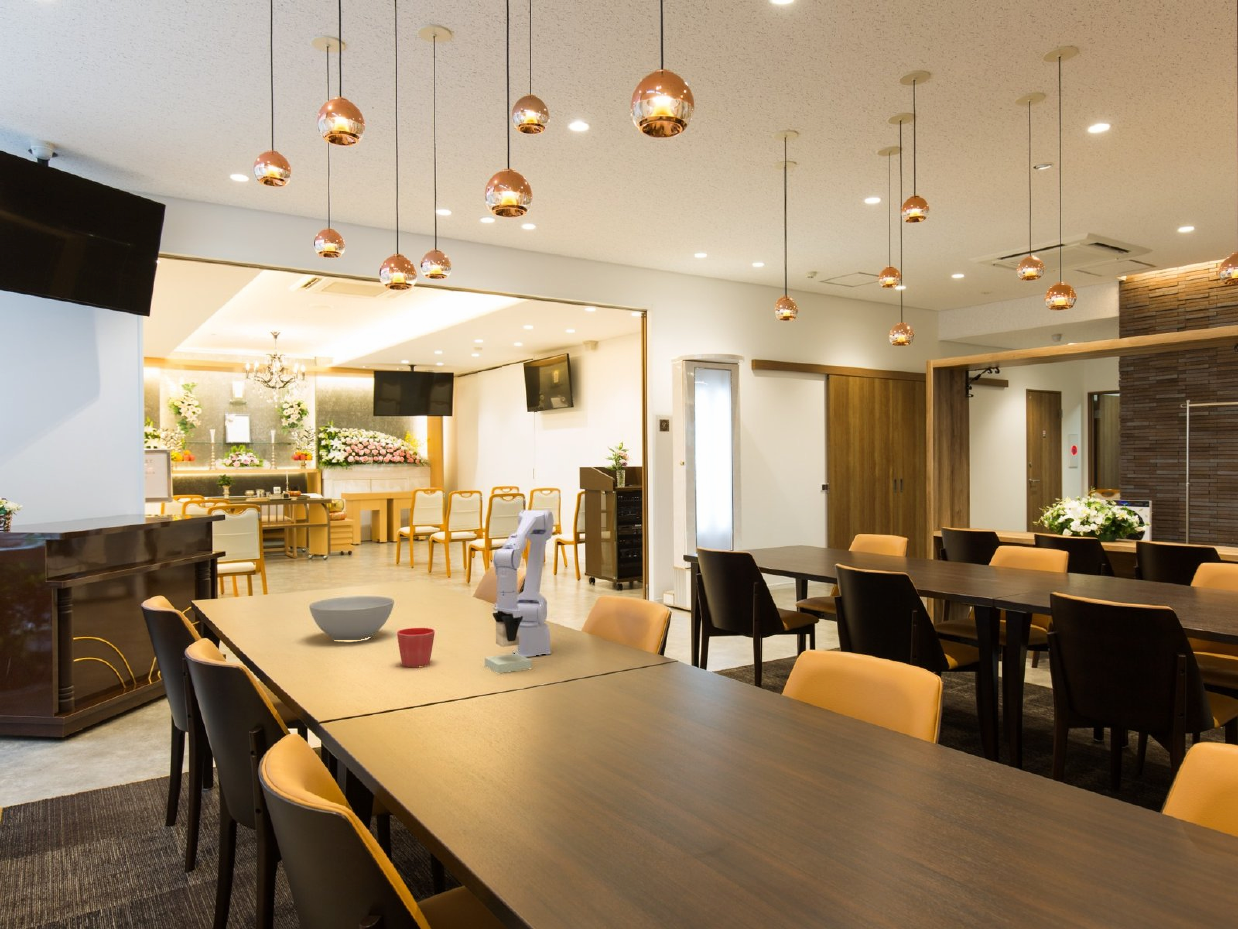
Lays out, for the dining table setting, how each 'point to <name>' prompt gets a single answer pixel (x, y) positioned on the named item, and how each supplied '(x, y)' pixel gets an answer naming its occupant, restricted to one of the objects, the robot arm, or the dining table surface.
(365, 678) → the dining table surface
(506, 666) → the base block
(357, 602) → the decorative bowl
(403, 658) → the flower pot
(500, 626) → the maple block
